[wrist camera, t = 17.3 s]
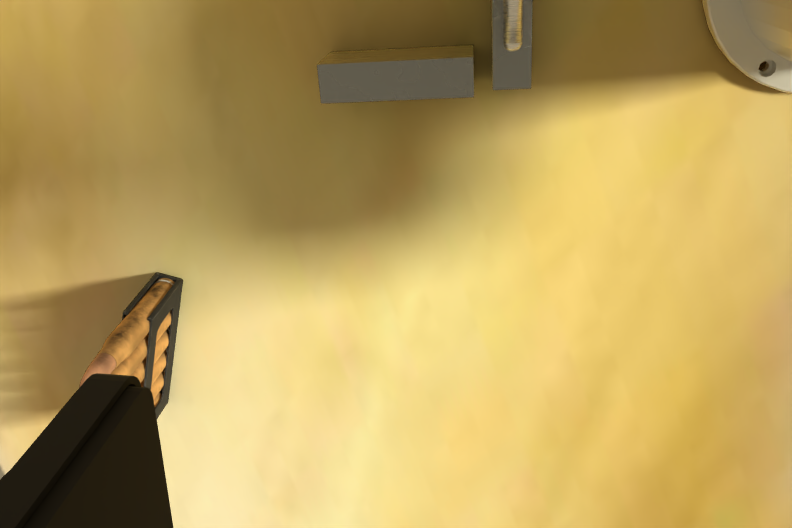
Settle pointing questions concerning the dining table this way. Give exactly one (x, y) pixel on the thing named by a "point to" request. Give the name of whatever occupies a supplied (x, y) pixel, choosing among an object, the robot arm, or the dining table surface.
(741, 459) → the dining table surface
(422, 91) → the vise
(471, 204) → the dining table surface
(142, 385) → the ammunition clip
